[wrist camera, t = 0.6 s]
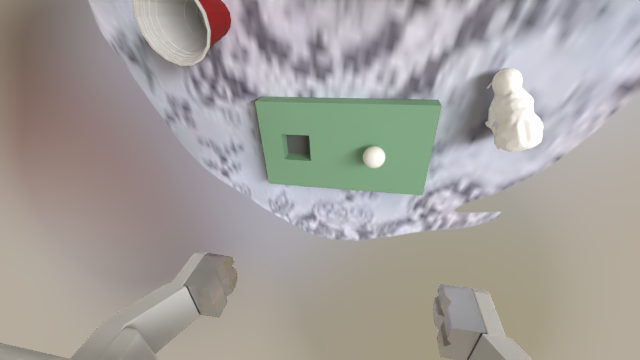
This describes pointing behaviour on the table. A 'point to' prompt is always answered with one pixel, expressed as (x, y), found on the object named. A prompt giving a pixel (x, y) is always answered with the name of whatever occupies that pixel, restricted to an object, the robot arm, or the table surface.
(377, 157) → the ball
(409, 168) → the green
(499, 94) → the white snowman figurine
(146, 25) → the plastic cup
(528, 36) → the table surface
